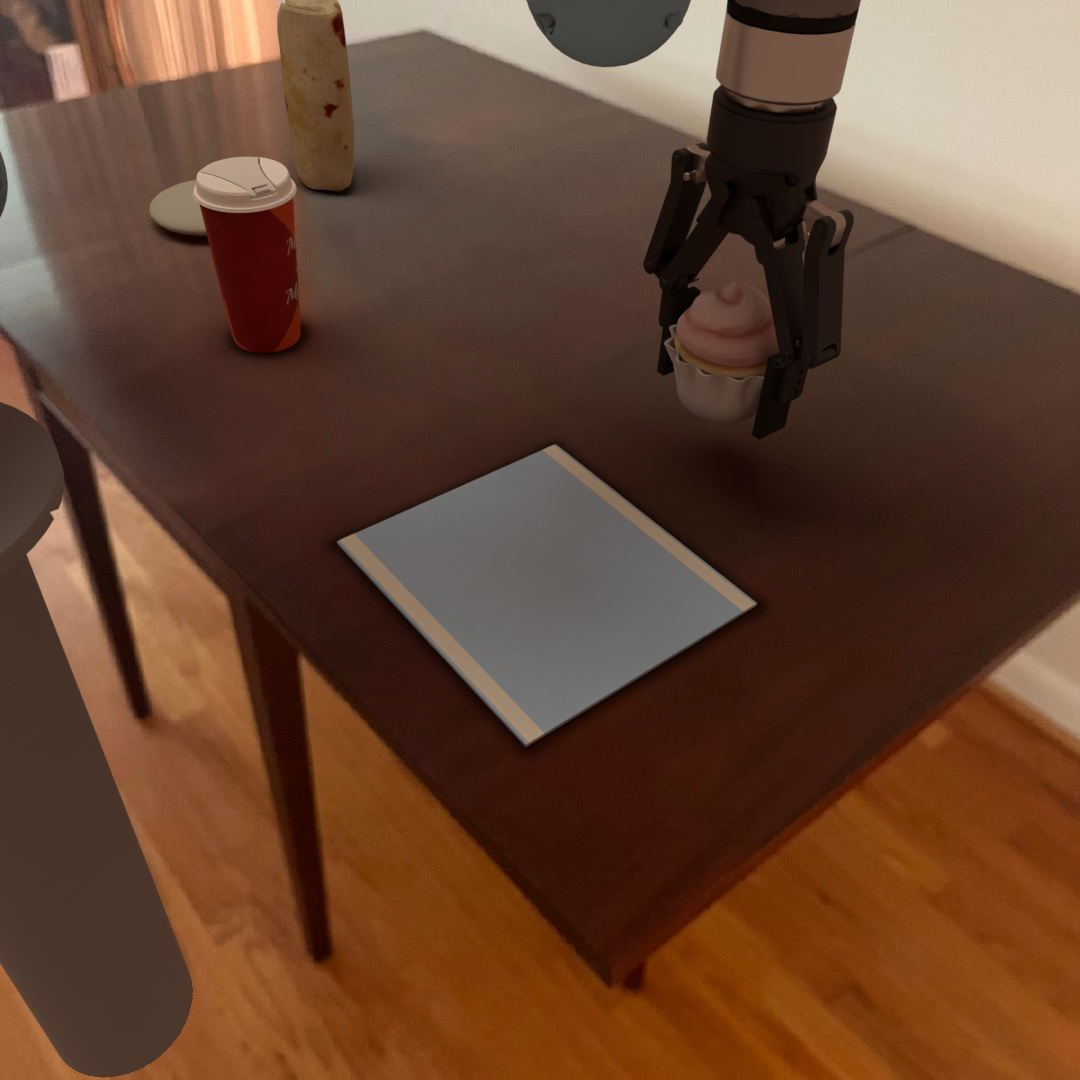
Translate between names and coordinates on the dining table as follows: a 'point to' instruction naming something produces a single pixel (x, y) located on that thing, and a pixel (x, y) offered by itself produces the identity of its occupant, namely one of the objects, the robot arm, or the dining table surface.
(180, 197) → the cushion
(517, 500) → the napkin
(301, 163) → the food model
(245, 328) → the coffee cup
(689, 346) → the cupcake
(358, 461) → the dining table surface
